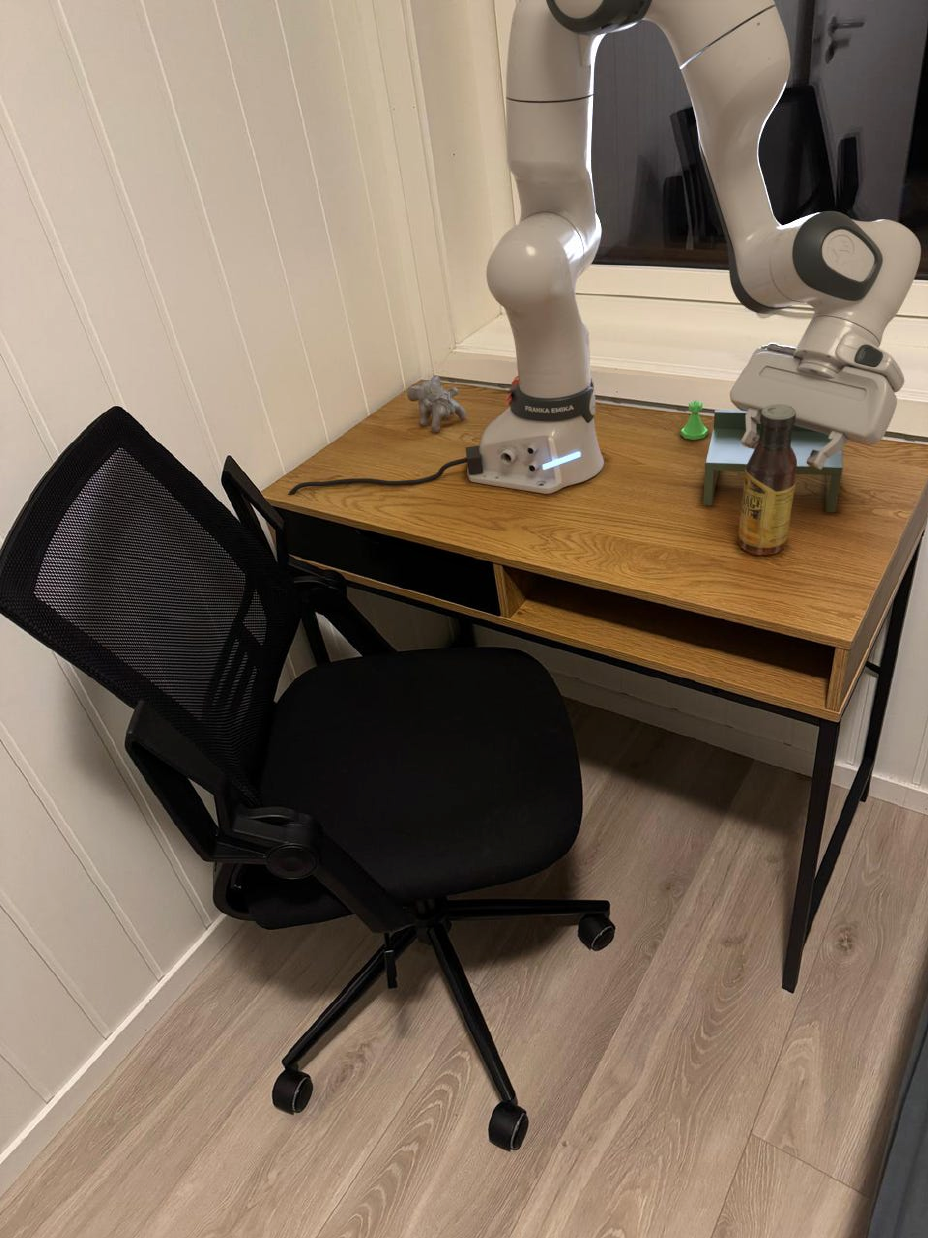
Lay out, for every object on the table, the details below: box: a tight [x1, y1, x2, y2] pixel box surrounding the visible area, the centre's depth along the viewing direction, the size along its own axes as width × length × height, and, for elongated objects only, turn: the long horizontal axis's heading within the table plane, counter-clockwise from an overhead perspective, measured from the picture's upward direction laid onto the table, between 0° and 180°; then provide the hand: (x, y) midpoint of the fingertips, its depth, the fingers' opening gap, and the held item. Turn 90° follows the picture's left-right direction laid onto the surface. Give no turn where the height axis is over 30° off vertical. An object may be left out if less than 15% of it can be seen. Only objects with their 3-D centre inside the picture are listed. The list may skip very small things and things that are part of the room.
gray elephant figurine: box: [406, 375, 467, 434], centre depth 158 cm, size 9×12×8 cm
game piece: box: [680, 400, 709, 441], centre depth 142 cm, size 4×4×6 cm
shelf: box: [702, 409, 844, 513], centre depth 124 cm, size 18×12×10 cm, turn 71°
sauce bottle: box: [738, 404, 797, 557], centre depth 109 cm, size 6×6×20 cm
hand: (779, 456), depth 108 cm, fingers open, 8 cm apart
